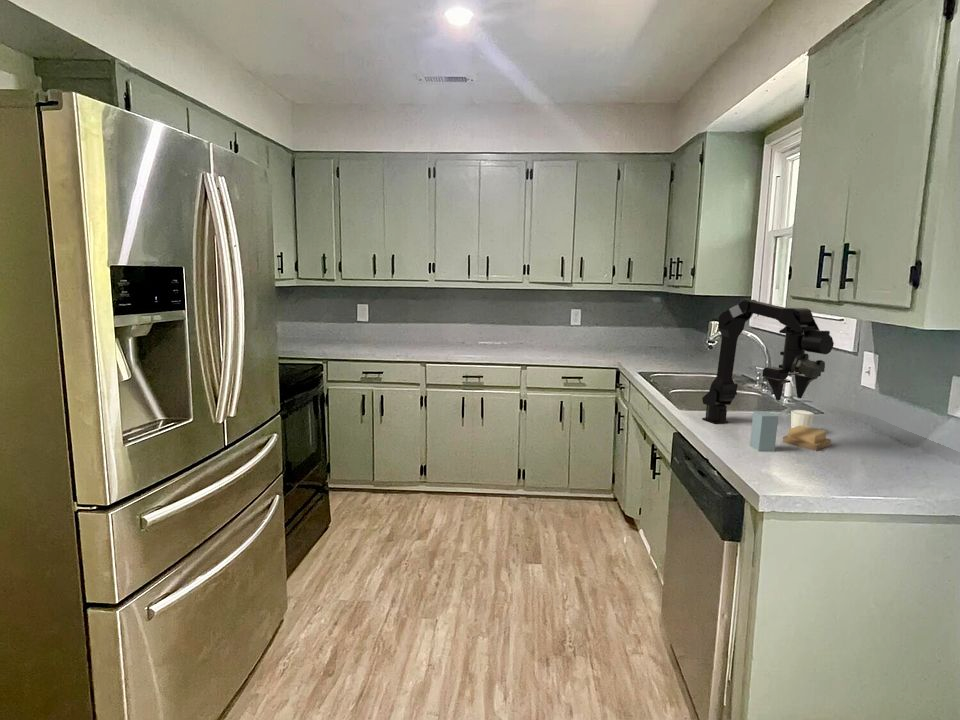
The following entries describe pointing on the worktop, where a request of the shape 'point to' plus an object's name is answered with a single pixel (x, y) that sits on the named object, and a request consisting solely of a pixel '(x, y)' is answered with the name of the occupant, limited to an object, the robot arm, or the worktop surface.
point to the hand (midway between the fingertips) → (788, 399)
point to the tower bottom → (807, 443)
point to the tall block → (764, 431)
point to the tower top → (807, 434)
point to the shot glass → (801, 418)
